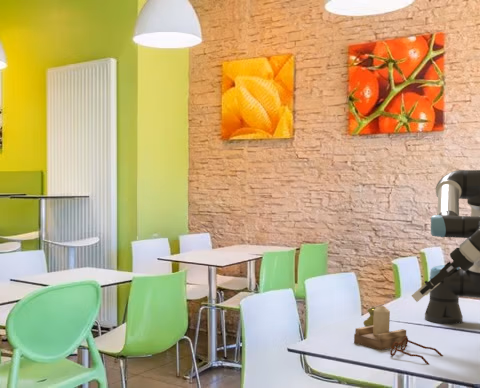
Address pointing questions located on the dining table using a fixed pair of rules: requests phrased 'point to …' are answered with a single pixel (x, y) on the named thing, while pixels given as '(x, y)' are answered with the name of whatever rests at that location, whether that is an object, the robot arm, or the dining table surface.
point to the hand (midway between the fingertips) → (418, 295)
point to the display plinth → (378, 338)
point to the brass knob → (370, 320)
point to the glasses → (409, 353)
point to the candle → (381, 320)
